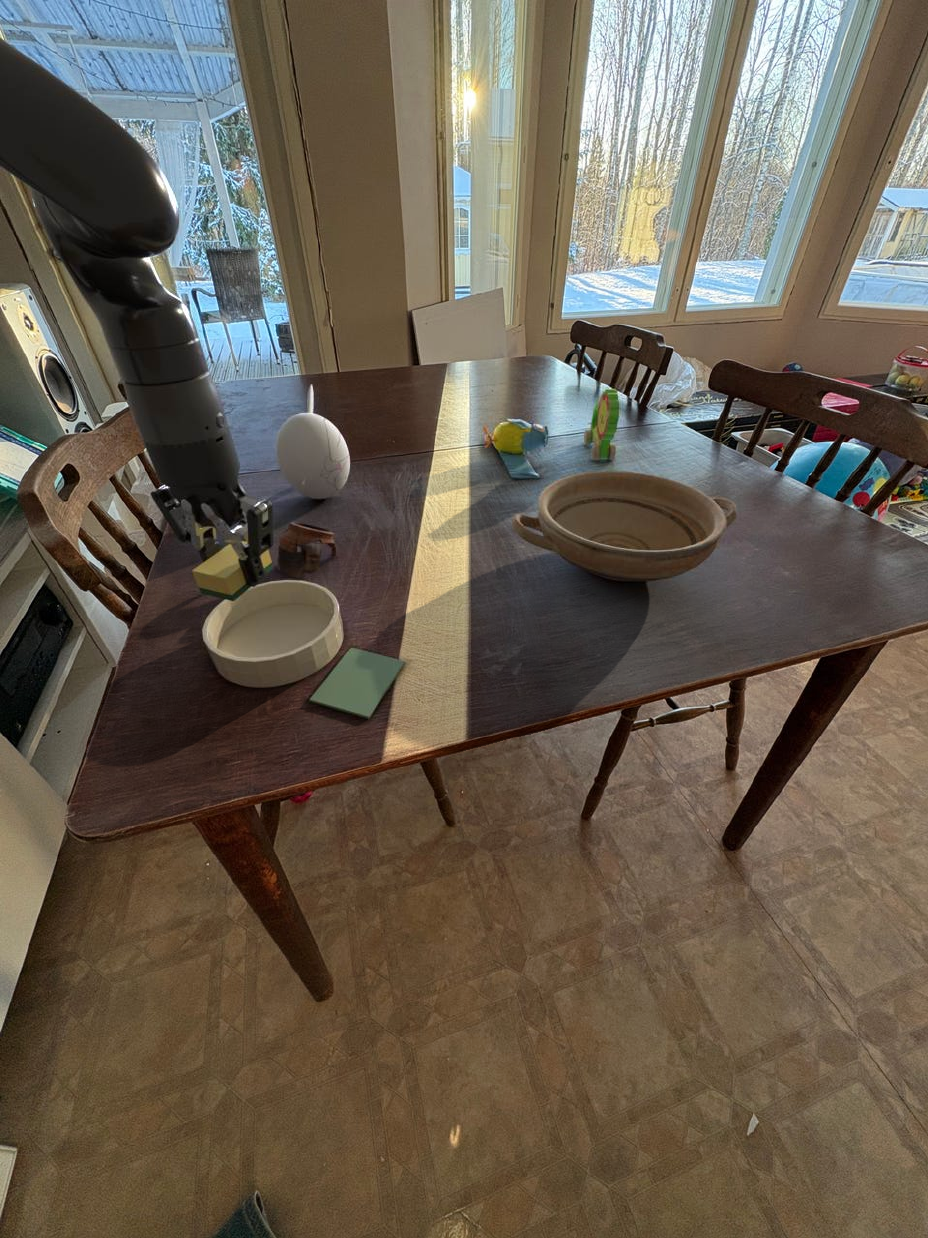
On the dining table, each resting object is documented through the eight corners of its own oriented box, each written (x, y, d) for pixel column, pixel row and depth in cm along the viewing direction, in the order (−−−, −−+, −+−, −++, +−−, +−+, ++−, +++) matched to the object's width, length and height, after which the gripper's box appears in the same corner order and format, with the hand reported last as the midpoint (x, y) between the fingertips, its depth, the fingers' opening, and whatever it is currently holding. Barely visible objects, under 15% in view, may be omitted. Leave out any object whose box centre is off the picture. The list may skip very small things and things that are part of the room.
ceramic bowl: (532, 624, 73) (538, 565, 67) (491, 529, 95) (493, 477, 89) (769, 598, 78) (795, 540, 71) (677, 513, 100) (691, 463, 93)
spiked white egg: (329, 436, 88) (347, 378, 105) (251, 443, 89) (282, 384, 106) (355, 525, 102) (367, 461, 119) (287, 531, 102) (309, 466, 119)
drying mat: (368, 719, 60) (368, 716, 59) (309, 701, 62) (309, 699, 61) (405, 663, 67) (404, 661, 67) (351, 649, 69) (351, 647, 69)
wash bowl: (297, 702, 62) (288, 675, 59) (184, 668, 66) (171, 642, 63) (365, 618, 74) (361, 593, 71) (267, 595, 79) (259, 570, 76)
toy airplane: (473, 402, 128) (532, 400, 130) (472, 437, 133) (528, 435, 135) (498, 441, 106) (568, 438, 108) (496, 480, 112) (562, 477, 114)
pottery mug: (267, 564, 87) (277, 516, 85) (322, 573, 92) (331, 528, 90) (284, 581, 77) (295, 528, 75) (343, 590, 82) (355, 540, 81)
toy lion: (581, 442, 130) (590, 378, 121) (602, 442, 130) (613, 378, 121) (593, 466, 118) (604, 397, 109) (617, 466, 118) (630, 397, 109)
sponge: (233, 601, 55) (225, 578, 53) (200, 593, 57) (191, 570, 55) (273, 567, 60) (267, 546, 59) (242, 561, 62) (235, 539, 60)
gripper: (93, 431, 47) (164, 584, 58) (218, 450, 43) (269, 610, 54) (157, 407, 52) (211, 551, 63) (273, 422, 48) (309, 572, 59)
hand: (237, 577), depth 58 cm, fingers closed on sponge, 4 cm apart
